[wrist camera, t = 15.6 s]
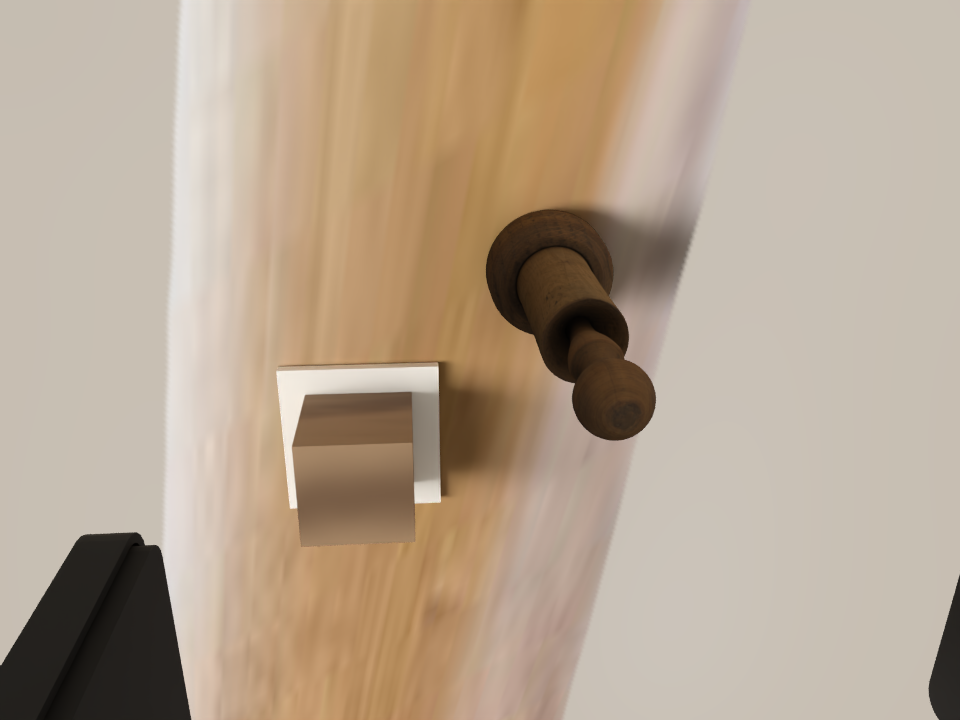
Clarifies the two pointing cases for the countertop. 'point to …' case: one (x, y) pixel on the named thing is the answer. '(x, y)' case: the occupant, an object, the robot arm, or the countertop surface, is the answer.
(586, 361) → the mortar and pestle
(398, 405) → the walnut cube
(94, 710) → the robot arm
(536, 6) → the countertop surface
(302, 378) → the tile pad
